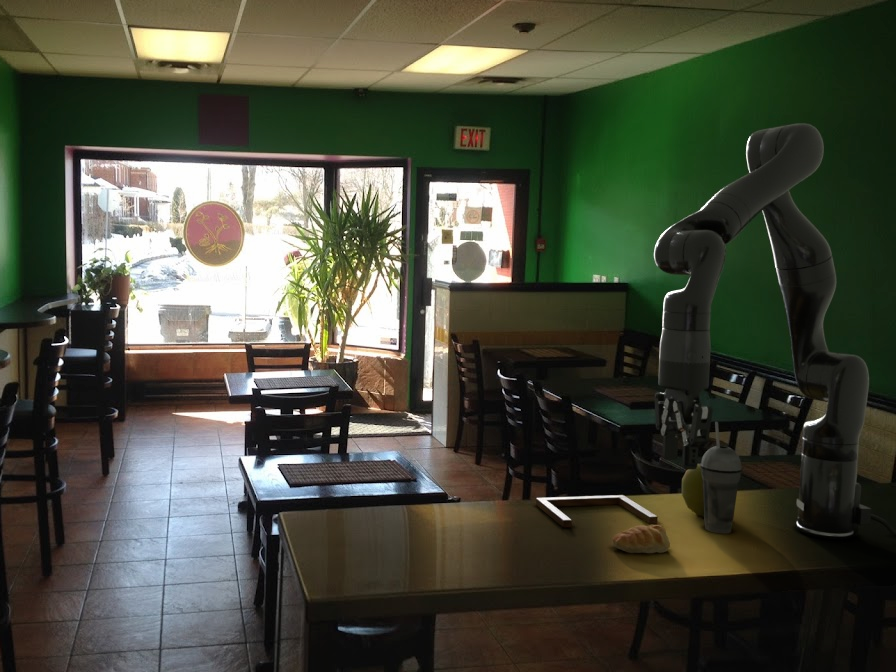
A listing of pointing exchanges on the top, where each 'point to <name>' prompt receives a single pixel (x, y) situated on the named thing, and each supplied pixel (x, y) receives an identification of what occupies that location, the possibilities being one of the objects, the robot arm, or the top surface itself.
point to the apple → (693, 490)
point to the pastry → (642, 539)
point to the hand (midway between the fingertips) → (679, 463)
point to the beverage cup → (720, 486)
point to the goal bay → (565, 521)
